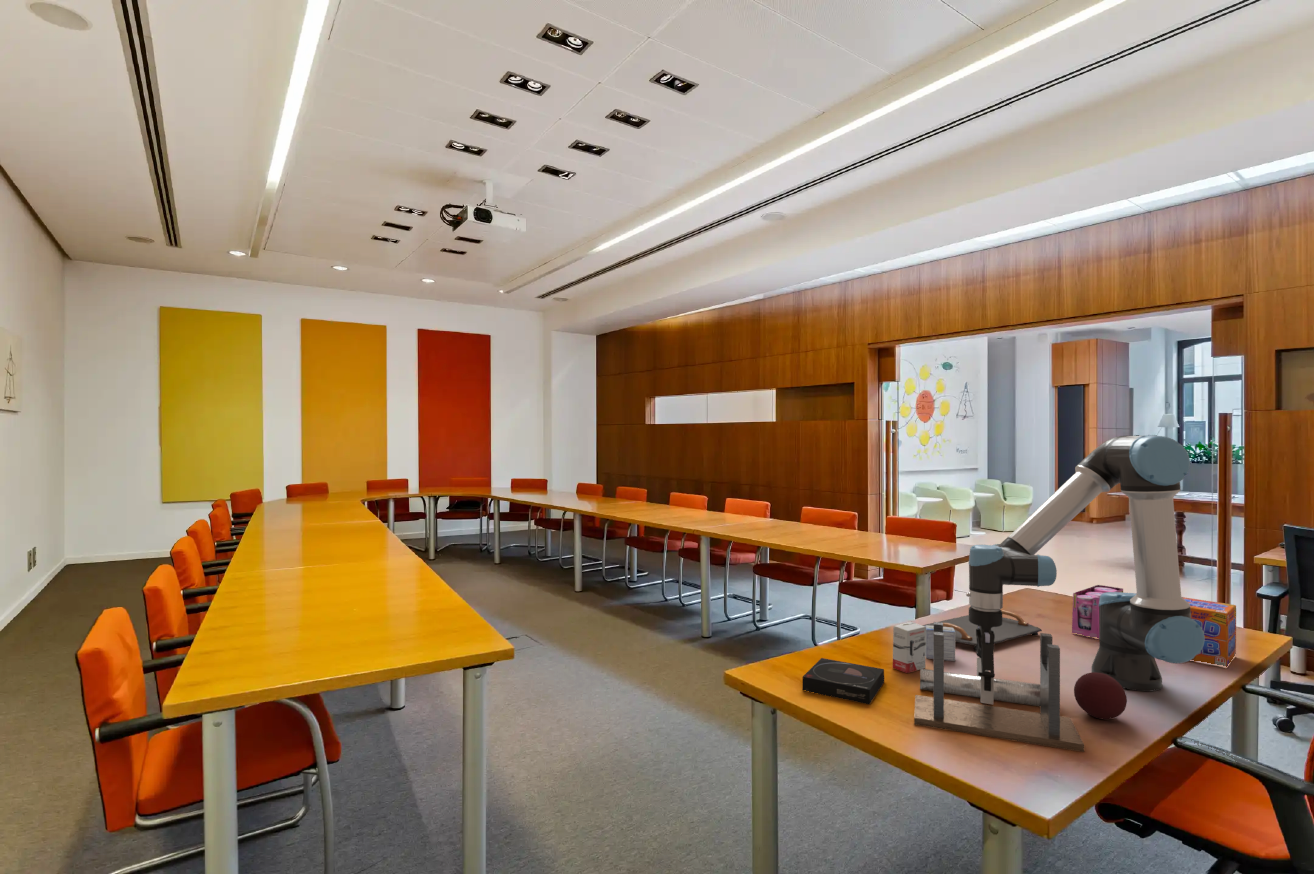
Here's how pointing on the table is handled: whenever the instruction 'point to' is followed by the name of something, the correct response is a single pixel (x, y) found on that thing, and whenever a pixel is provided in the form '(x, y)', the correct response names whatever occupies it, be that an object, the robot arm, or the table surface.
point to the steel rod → (972, 687)
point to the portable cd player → (844, 680)
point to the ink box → (909, 647)
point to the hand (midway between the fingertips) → (984, 693)
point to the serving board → (1006, 631)
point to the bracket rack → (998, 720)
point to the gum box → (1088, 609)
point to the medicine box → (948, 643)
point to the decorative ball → (1100, 695)
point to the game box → (1215, 630)
